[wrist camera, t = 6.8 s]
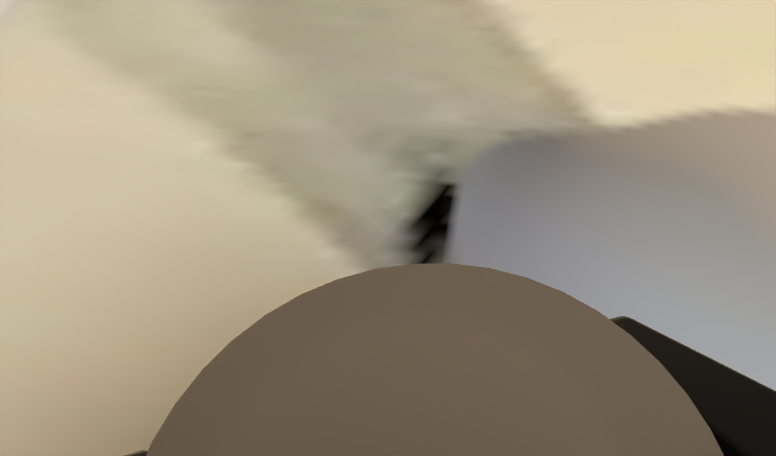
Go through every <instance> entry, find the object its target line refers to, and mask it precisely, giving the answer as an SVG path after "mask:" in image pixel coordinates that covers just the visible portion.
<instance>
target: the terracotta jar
mask: <svg viewBox="0 0 776 456" xmlns="http://www.w3.org/2000/svg"><path fill="white" fill-rule="evenodd" d="M146 456H724V455H723V453H722V451H721V449H720V447H719V445H718V443H717V441H716V439H715V437H714V435H713V433H712V431H711V429H710V428H709V426H708V425H707V423H706V422H705V420H704V419H703V417H702V416H701V414H700V413H699V411H698V410H697V408H696V407H695V405H694V404H693V402H692V401H691V399H690V398H689V396H688V395H687V393H686V392H685V391H684V390H683V389H682V387H681V386H680V385H679V384H678V383H677V382H676V380H675V379H674V378H673V377H672V376H671V374H670V373H669V372H668V371H667V370H666V369H665V367H664V366H663V365H662V364H661V363H660V362H659V361H658V360H657V359H656V358H655V357H654V356H653V355H652V354H651V353H650V352H649V351H647V350H646V349H645V348H644V347H643V346H642V345H641V344H640V343H639V342H638V341H637V340H636V339H634V338H633V337H632V336H631V335H630V334H629V333H627V332H626V331H625V330H623V329H622V328H620V327H619V326H618V325H616V324H615V323H614V322H612V321H611V320H609V319H608V318H607V317H605V316H604V315H602V314H601V313H600V312H598V311H597V310H595V309H593V308H591V307H589V306H588V305H586V304H584V303H582V302H580V301H578V300H576V299H575V298H573V297H571V296H569V295H567V294H566V293H564V292H562V291H559V290H556V289H554V288H551V287H549V286H546V285H544V284H541V283H539V282H536V281H534V280H531V279H529V278H525V277H522V276H518V275H514V274H510V273H506V272H502V271H498V270H494V269H490V268H483V267H475V266H466V265H458V264H409V265H402V266H395V267H388V268H381V269H374V270H370V271H367V272H363V273H359V274H356V275H352V276H348V277H345V278H341V279H338V280H335V281H333V282H330V283H328V284H325V285H323V286H321V287H318V288H316V289H313V290H311V291H309V292H306V293H304V294H302V295H299V296H298V297H296V298H294V299H293V300H291V301H289V302H287V303H286V304H284V305H282V306H281V307H279V308H277V309H275V310H274V311H272V312H270V313H268V314H267V315H265V316H264V317H262V318H261V319H260V320H259V321H257V322H256V323H255V324H253V325H252V326H251V327H249V328H248V329H247V330H245V331H244V332H243V333H241V334H240V335H239V336H238V337H236V338H235V339H234V340H232V341H231V342H230V343H229V344H228V345H227V346H226V347H225V348H224V349H223V350H222V351H221V352H220V353H219V354H218V355H217V356H216V357H215V358H214V359H213V360H212V361H211V362H210V363H209V364H208V365H207V366H206V367H205V368H204V369H203V370H202V371H201V372H200V374H199V375H198V376H197V377H196V379H195V380H194V381H193V382H192V384H191V385H190V386H189V388H188V389H187V390H186V391H185V393H184V394H183V395H182V396H181V398H180V399H179V400H178V401H177V403H176V404H175V406H174V407H173V409H172V411H171V412H170V414H169V415H168V417H167V419H166V420H165V422H164V424H163V425H162V427H161V429H160V430H159V432H158V433H157V435H156V437H155V438H154V440H153V442H152V444H151V446H150V448H149V450H148V453H147V455H146Z"/></svg>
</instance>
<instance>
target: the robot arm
mask: <svg viewBox="0 0 776 456" xmlns="http://www.w3.org/2000/svg"><path fill="white" fill-rule="evenodd" d="M609 320H611V321H612V322H614V323H615V324H616V325H618V326H619V327H620V328H622V329H623V330H625V331H626V332H627V333H629V334H630V335H631V336H632V337H633V338H634V339H636V340H637V341H638V342H639V343H640V344H641V345H642V346H643V347H644V348H645V349H646V350H647V351H649V352H650V353H651V354H652V355H653V356H654V357H655V358H656V359H657V360H658V361H659V362H660V363H661V364H662V365H663V366H664V367H665V369H666V370H667V371H668V372H669V373H670V374H671V376H672V377H673V378H674V379H675V380H676V382H677V383H678V384H679V385H680V386H681V387H682V389H683V390H684V391H685V392H686V393H687V395H688V396H689V398H690V399H691V401H692V402H693V404H694V405H695V407H696V408H697V410H698V411H699V413H700V414H701V416H702V417H703V419H704V420H705V422H706V423H707V425H708V426H709V428H710V429H711V431H712V433H713V435H714V437H715V439H716V441H717V443H718V445H719V447H720V449H721V451H722V453H723V455H724V456H776V391H774V390H772V389H770V388H768V387H766V386H764V385H762V384H760V383H758V382H756V381H755V380H752V379H751V378H748V377H746V376H745V375H742V374H741V373H738V372H737V371H735V370H732V369H731V368H729V367H727V366H725V365H723V364H720V363H719V362H717V361H715V360H713V359H711V358H709V357H707V356H705V355H703V354H701V353H699V352H696V351H695V350H693V349H691V348H689V347H687V346H685V345H683V344H681V343H679V342H677V341H675V340H673V339H671V338H669V337H667V336H665V335H663V334H661V333H659V332H657V331H655V330H653V329H651V328H649V327H647V326H645V325H643V324H641V323H639V322H637V321H635V320H633V319H631V318H629V317H625V316H623V317H622V316H621V317H616V318H613V319H609ZM147 453H148V451H139V452H135V453H132V454H128V455H125V456H146V455H147Z"/></svg>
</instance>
